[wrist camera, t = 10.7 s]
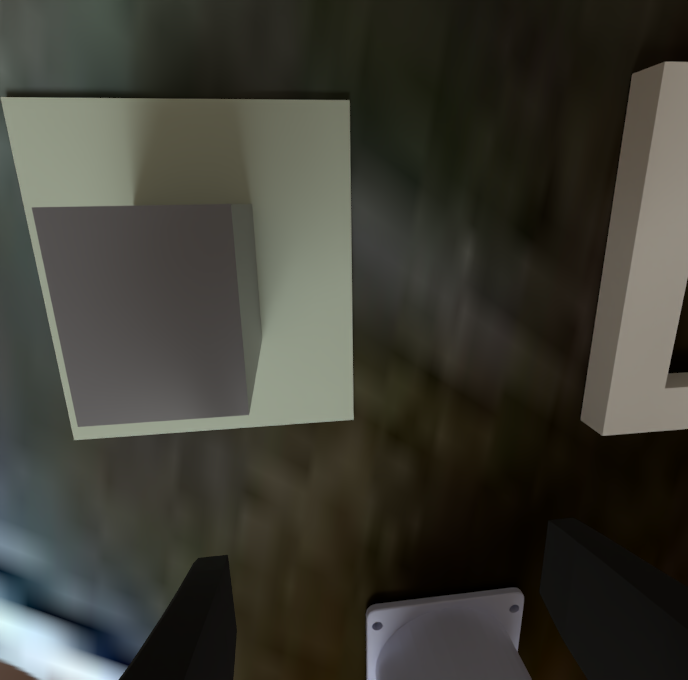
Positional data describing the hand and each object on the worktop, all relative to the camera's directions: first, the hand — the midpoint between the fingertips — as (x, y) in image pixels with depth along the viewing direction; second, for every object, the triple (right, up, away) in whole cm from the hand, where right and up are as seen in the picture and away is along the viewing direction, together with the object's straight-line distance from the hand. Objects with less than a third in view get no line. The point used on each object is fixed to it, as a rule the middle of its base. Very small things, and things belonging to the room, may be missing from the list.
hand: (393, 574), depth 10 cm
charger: (-6, +7, +6) cm, 12 cm away
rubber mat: (-6, +7, +7) cm, 12 cm away
